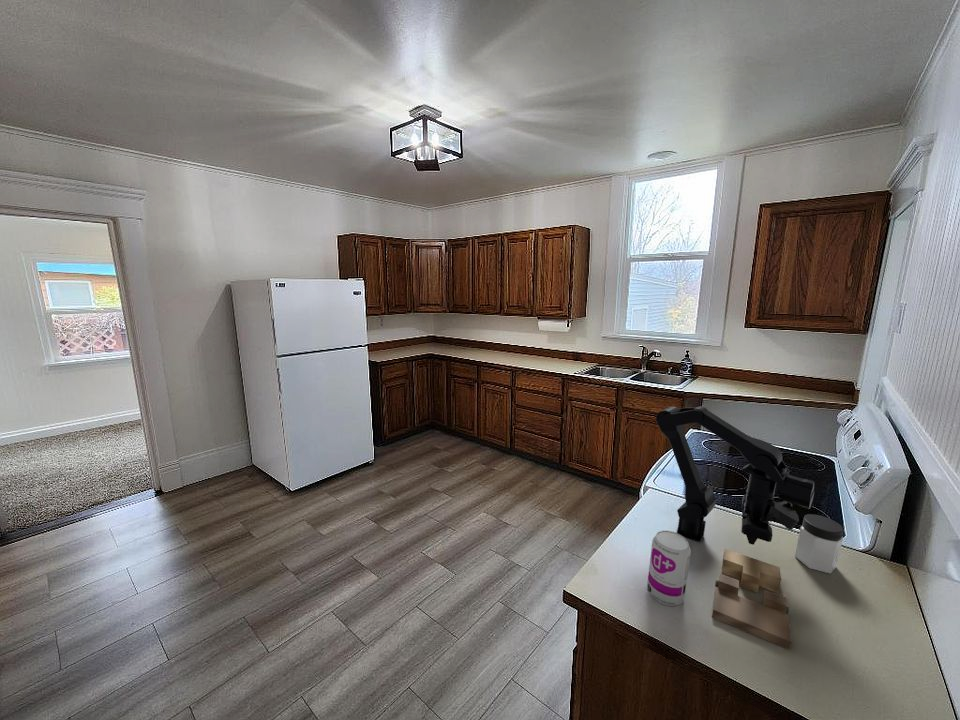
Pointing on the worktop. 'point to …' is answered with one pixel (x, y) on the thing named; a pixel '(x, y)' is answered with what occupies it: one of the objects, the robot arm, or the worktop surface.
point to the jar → (819, 543)
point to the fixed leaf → (752, 612)
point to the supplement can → (668, 568)
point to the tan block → (751, 571)
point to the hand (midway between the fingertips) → (751, 543)
